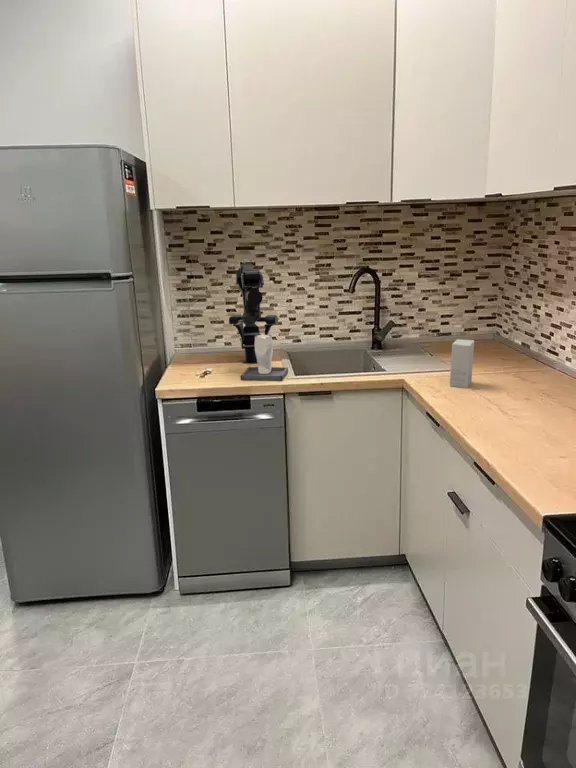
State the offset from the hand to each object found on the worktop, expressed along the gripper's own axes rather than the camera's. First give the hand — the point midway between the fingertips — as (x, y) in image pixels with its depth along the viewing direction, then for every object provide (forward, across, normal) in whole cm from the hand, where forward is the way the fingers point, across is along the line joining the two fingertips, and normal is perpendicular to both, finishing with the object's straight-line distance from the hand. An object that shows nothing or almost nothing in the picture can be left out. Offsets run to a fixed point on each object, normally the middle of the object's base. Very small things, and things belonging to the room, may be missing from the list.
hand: (254, 340), depth 236 cm
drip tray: (+12, +6, -10) cm, 16 cm away
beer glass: (+11, +6, -9) cm, 16 cm away
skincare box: (+12, +79, -16) cm, 82 cm away
